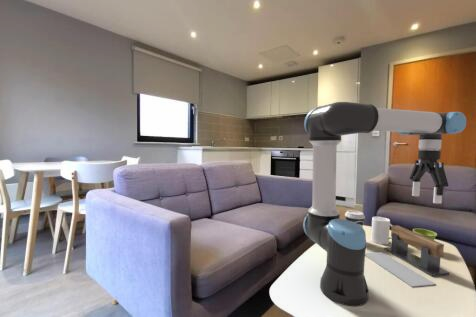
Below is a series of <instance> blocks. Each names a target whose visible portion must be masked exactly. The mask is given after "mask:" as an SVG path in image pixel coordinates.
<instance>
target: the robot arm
mask: <svg viewBox="0 0 476 317" xmlns="http://www.w3.org/2000/svg"><path fill="white" fill-rule="evenodd" d="M303 123H304V124H303V126H304V130H305V132H306V133H307V135H308V142H309V143H310V144H311V145H312V193H311V194H312V196H311V197H312V198H311V199H312V201H311V204H312V205H311V207H309V208H308V211H307V214H306V216H305V217H304V219H303V223H302V228H303V231H304V233H305V235H306V236H307V238H309V239H310V240H311V241H312V242H313V243H315V244H316V245H318V246H319V247H320V248H322V249H323V250H324V251H325V252H326V265H325V268H324V270H323V273H322V276H321V277H320V283H319V284H320V285H319V288H320V290H321V292H322V294H323V295H324V296H326V297H327V298H328V299H330V300H332V301H334V302H336V303H338V304H342V305H345V306H351V307H353V306H354V307H355V306H356V307H358V306H363V305H365V304H367V303H368V301H369V299H370V298H369V297H370V290H369V287H368V283H367V280H366V277H365V259H366V256H365V253H366V246H367V238H366V236H367V234H366V230H365V229H364V228H363V227H361V226H360V225H359V224H357V223H355V222H352V221H348V220H346V218H345V219H344V218H340V216H341V214H340V211H339V210H338V209H337V207H336V206H337V204H336V200H337V199H336V196H337V194H336V193H337V147H338V145H339V144H340V143H341V142H342V136H347V135H354V134H356V135H357V134H370V133H372V132H374V131H377V132H395V133H397V134H398V135H404V136H419V137H418V151H417V152H418V153H417V160H415V162H414V166H413V168H412V171H411V173H410V176H409V179H410V180H411V181H412V192H411V193H412V194H411V196H413V197H420V195H421V194H420V192H421V179H422V177H424V175H425V173H429V174H430V176H431V178H432V181H433V183H434V187H433V199H432V203H433V204H442V203H443V194H444V188H446V187H447V188H448V187H449V182H448V179H447V175H446V172H445V167H444V165H445V164H444V162H440V161H438V160H440V159H441V155H442V154H441V152H442V151H441V149H442V140H443V138H442V136H443V135H453V134H459V133H462V132H463V131H464V130H465V129H466V127H467V118H466V115H465V114H464V113H463V112H461V111H449V112H437V111H423V110H408V109H397V108H395V109H394V108H380V107H377V106H376V105H374V104H371V103H361V102H360V103H359V102H350V101H335V102H333V103H329V104H325V105H320V106H317V107H315V108H313V109H312V110H310V111H309V112H308V113H307V114H306V116H305V118H304V122H303Z"/></svg>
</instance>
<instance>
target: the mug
mask: <svg viewBox="0 0 476 317" xmlns="http://www.w3.org/2000/svg"><path fill="white" fill-rule="evenodd" d="M371 218H372V219H371V233H370V234H371V236H370V241H371V242H373V243H376V244H380V245H389V244H390V240H392V236H390V231H391V230H390V229H391V226H394V225H393V224H392V223H391V220H390V219H389V218H387V217H383V216H372V217H371Z"/></svg>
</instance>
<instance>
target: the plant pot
mask: <svg viewBox="0 0 476 317" xmlns="http://www.w3.org/2000/svg"><path fill="white" fill-rule="evenodd" d="M412 232H415V233H417V234H420V235H422V236H424V237H427V238H429V239H432V240H434V241H435V239H436V237H437V236H438V234H437V232H435V231H432V230H429V229H425V228H413V229H412Z"/></svg>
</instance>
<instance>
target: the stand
mask: <svg viewBox="0 0 476 317" xmlns="http://www.w3.org/2000/svg"><path fill="white" fill-rule="evenodd" d="M391 237H392V239H391V246H388V247H386V246H385V247H383V250H384V251H386V252H388V253H389V254H391V255H393V256H395V257H396V258H398V259H400V260H402V261H403V262H406V263H407V264H409V265H411V266H412V267H414V268H416V269H418V270H420V271H421V272H423V273H425V274H426V275H428V276H430V277H431V278H433V277H443V276H450V272H448V271H447V270H444V269H443V268H441V258H442V257H434V256H432V255H430V249H428V248H426V247H424V246H421V250H420V256H417V255H416V254H414V253H412V252H410V251H409V250H408V249H409V244H407V243H404V242H402V241H400V240H399V235H398V234H396V233H392V236H391Z"/></svg>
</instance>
